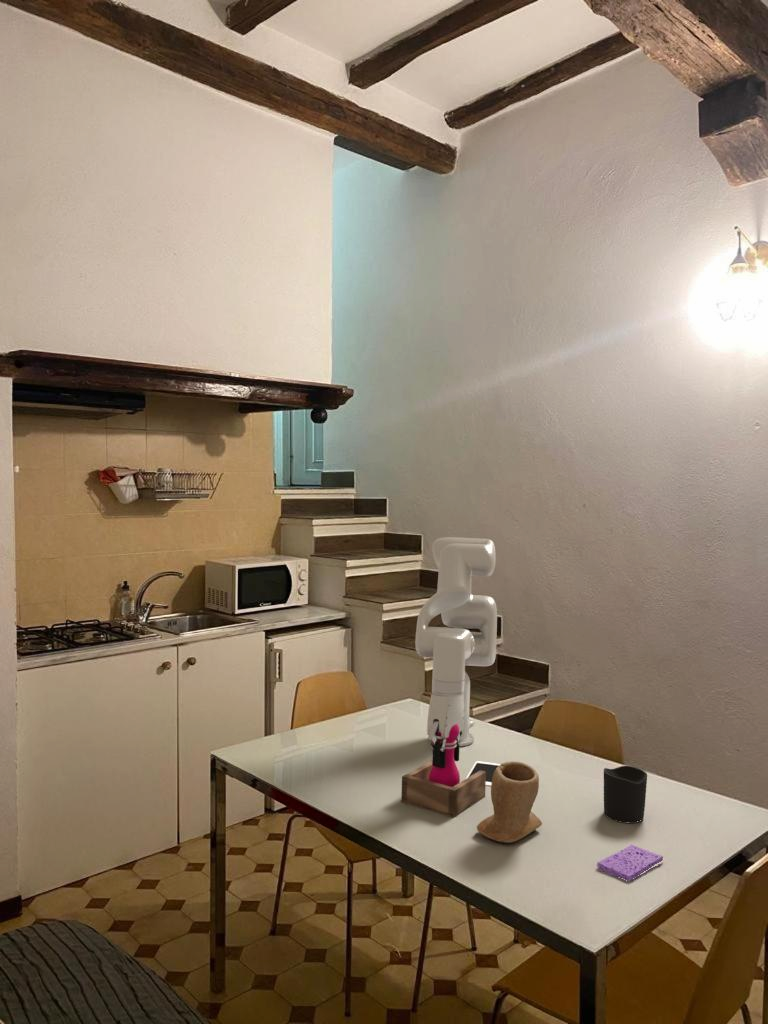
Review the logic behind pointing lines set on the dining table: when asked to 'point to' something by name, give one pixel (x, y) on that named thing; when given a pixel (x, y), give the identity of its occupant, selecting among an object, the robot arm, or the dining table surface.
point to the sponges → (629, 862)
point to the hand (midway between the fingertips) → (445, 762)
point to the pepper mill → (447, 762)
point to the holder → (441, 792)
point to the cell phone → (486, 767)
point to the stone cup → (512, 803)
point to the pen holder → (625, 793)
